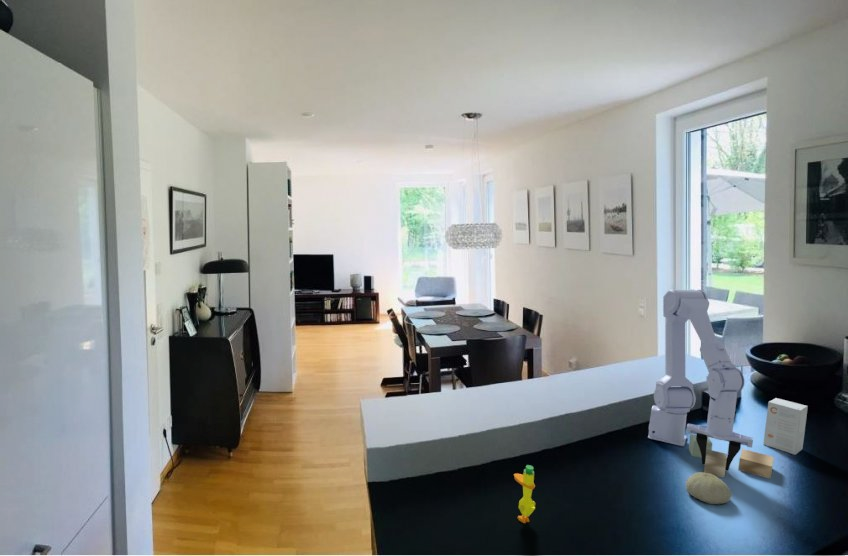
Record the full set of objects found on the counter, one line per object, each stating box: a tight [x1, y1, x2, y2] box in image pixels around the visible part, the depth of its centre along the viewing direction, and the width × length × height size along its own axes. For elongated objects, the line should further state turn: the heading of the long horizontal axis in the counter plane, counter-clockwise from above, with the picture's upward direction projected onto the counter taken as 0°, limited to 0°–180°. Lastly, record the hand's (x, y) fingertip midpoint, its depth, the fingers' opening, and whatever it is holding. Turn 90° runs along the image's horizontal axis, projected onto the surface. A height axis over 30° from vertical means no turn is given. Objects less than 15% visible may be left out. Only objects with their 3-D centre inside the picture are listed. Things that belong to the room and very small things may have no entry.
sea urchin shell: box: [685, 471, 732, 505], centre depth 121 cm, size 9×8×8 cm
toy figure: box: [513, 464, 536, 524], centre depth 108 cm, size 7×4×12 cm, turn 30°
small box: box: [763, 397, 809, 456], centre depth 149 cm, size 8×6×13 cm
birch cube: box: [703, 449, 728, 478], centre depth 133 cm, size 4×4×4 cm
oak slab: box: [738, 448, 774, 480], centre depth 135 cm, size 7×7×4 cm
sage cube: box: [688, 433, 713, 459], centre depth 143 cm, size 4×4×4 cm
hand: (715, 466), depth 133 cm, fingers closed on birch cube, 4 cm apart
